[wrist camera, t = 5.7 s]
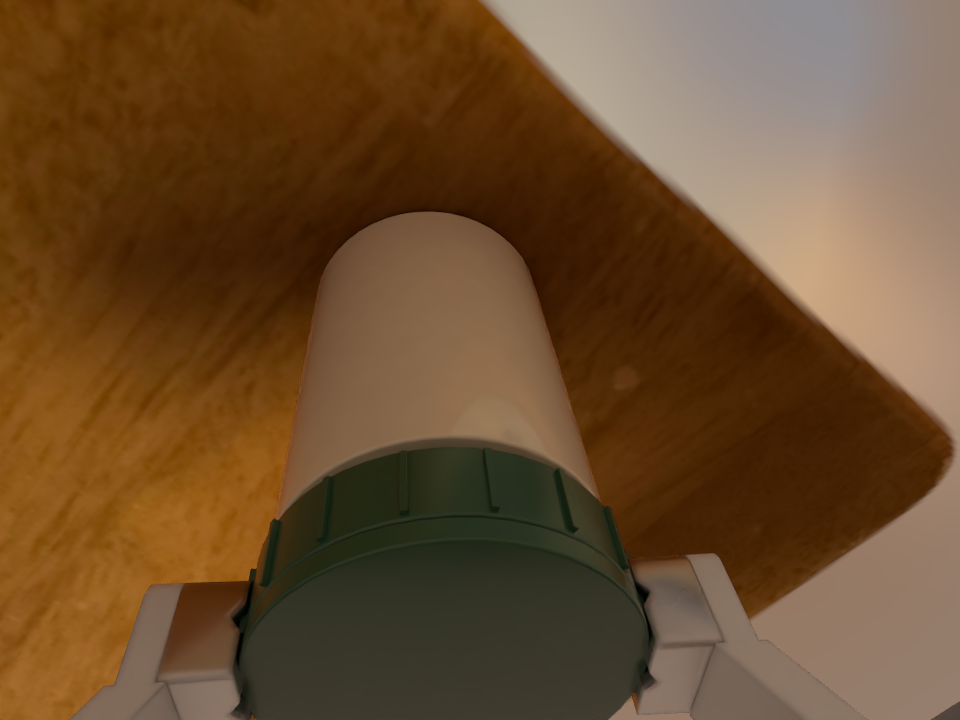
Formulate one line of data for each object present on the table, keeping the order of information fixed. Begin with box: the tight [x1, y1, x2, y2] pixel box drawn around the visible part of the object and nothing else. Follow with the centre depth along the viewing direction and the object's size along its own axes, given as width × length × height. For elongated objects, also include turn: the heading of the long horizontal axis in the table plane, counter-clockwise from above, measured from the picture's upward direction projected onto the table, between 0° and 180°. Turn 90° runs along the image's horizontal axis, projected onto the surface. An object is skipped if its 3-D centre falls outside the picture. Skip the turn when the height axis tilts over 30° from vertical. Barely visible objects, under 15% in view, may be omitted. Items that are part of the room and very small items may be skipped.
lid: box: [239, 447, 650, 720], centre depth 11 cm, size 6×6×2 cm
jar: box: [274, 212, 602, 520], centre depth 15 cm, size 6×6×9 cm
